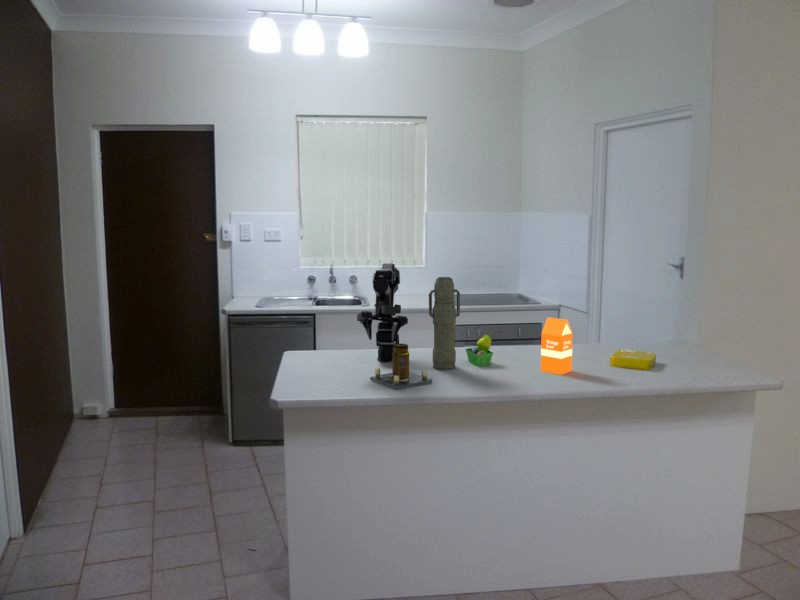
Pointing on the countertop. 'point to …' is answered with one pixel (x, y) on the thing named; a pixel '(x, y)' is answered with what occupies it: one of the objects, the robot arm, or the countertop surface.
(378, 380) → the chassis plate
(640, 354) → the element tile
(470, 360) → the fruit basket
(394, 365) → the condiment
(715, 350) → the countertop surface
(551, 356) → the orange juice
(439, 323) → the thermos
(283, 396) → the countertop surface
